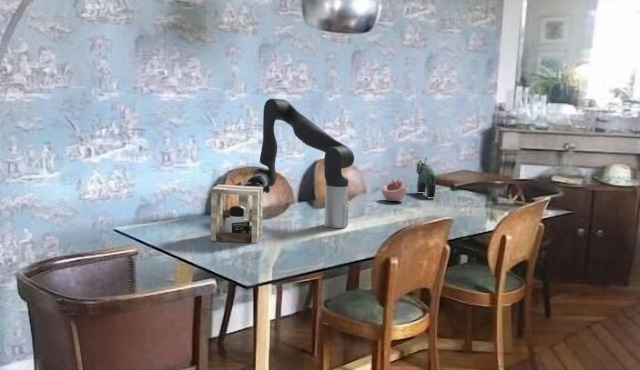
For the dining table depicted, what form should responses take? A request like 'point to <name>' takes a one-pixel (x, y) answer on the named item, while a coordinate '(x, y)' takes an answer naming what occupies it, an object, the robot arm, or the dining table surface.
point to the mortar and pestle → (394, 190)
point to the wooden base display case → (238, 236)
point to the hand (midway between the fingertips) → (249, 191)
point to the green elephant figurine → (425, 178)
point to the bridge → (239, 190)
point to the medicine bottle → (237, 220)
